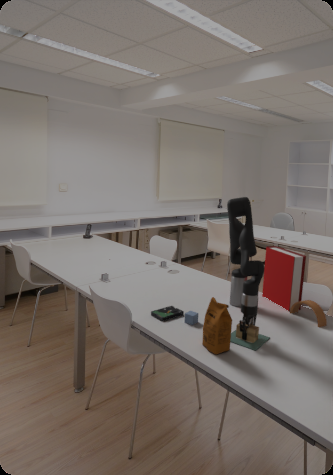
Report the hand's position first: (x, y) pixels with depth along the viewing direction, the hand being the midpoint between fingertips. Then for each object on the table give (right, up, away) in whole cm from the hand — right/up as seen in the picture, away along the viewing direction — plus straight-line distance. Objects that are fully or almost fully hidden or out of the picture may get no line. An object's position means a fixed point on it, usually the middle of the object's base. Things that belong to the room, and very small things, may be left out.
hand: (246, 337), depth 166 cm
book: (+31, +7, +49) cm, 58 cm away
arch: (+38, +2, +25) cm, 46 cm away
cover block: (0, 0, 0) cm, 0 cm away
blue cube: (-25, +3, +17) cm, 30 cm away
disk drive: (-37, +4, +25) cm, 45 cm away
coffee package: (-16, -2, -9) cm, 19 cm away
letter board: (0, -1, 0) cm, 1 cm away
